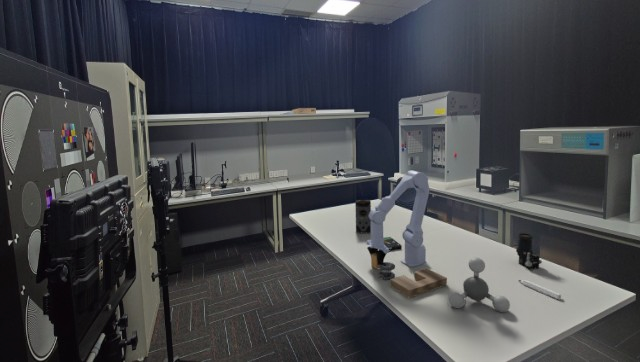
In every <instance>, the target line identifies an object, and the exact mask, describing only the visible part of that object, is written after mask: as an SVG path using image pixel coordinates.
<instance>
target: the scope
mask: <svg viewBox="0 0 640 362" xmlns="http://www.w3.org/2000/svg"><path fill="white" fill-rule="evenodd" d="M517 237H518V241H517V248H516V249H515V251H516V254H517V256H518V264H519V265H520V266H523V267H525V268H526V269H528V270H529V271H533V270H534V269H539V268H540V264H543V261H542V259H540V256H539V255H535V254H533V253H534V252H533V240H532V239H533V237H534V236H533V235H532V234H530V233H526V232H525V233H524V232H522V233H518V236H517Z"/></svg>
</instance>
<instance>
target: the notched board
mask: <svg viewBox="0 0 640 362" xmlns="http://www.w3.org/2000/svg"><path fill="white" fill-rule="evenodd" d="M414 279H415V280H417V281H415V280H413V279H412V278H409V277H408V276H406V275H404V274H403V275H401V276H397V277H396V276H395V278H393V279H391V280H390V287H391V288H392V289H394V290H396V291H398V292H399V293H400V294H402V295H404V296H406V297H408V299H410V298H413V297H416V296H419V295H421V294H424V293H427V292H430V291H434V290H436V289H438V288H441V287H442V288H443V287H445V286H447V285H448V283H447V282H448V281H447V280H448V278H447V277H445V276H444V275H442V274H440V273H438V272H435V271H433V270H431V269H429V268H423V269H420V270H416V271H414Z"/></svg>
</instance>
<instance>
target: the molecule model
mask: <svg viewBox="0 0 640 362" xmlns="http://www.w3.org/2000/svg"><path fill="white" fill-rule="evenodd" d="M468 268H469V270H470V271H472V272H473V276H469V277H468V278H465V280H463V283H462V287H463V292H462V293H459V292H455V291H454V292H451V293H450V294H449V295H448V298H447V301H448V303H449V305H450V307H452V308H455V309H461V308H462V307H464V304H465V299H466V298H467V297H468V298H469V299H471V300H472V301H477V302H478V301H483V300H484V299H487V300H489V301H491V303H492V307H493V308H494V309H495V310H496V311H498V312H500V313H505V312H508V311H509V309H510V307H511V302H510V300H509V299H508V298H507V297H506V296H503V295H496V296H493V295H492V294H490V293H489V291H490V289H489V285H488V283H487V282H486V280H484V279H483V278H481V277H480V273H482V272H483V271H484V270H485V268H486V264H485V261H484V260H483V259H481V258H480V257H472V258H470V259H469V261H468Z"/></svg>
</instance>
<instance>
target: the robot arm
mask: <svg viewBox="0 0 640 362" xmlns="http://www.w3.org/2000/svg"><path fill="white" fill-rule="evenodd" d="M412 188H414V190H415V191H416V194H415V198H414V203H413V207H412V211H411V215H410V220H409V223H408V224H407V225H406V226H405V229H404V231H402V236H401V237H402V239H403V240H404V259H401V260H400V262H401V263H403V264H405V265H407V266H409V267H411V268H413V267H417V266H420V265H424V264H427V263H428V261H426V259H427V258H426V252H427V251H426V250H427V249H426V246H425V245H424V244H423V243H424V231H423V228H422V225H423V221H424V220H423V219H424V215H425V212H426V208H427V207H426V206H427V203H428V198H429V195H430V191H431V190H430V189H431V188H430V185H429V177H428V176H427V175H426V173H424V172H423V171H421V172H420V171H417V170H413V169H411V170H408V171H407V172H406V173H405V174H404V175H403V176H402V178H401V180H400V182H398V184H397V185H396V187H394V189H393V190H392V191H391V193H390V194H389V195H387V196H384V197H382V198H381V201H380V202H379V203H378V204H377V206H375V207H374V208H373V209H371V211H370V213H369V215H368V216H369V218H370V220H371V233H370V239H366V241H365V242H366V243H365V244H366V245H367V246H368V247H367V251H368V252H369V255H370V256H371V254H373V253H376V255H377V260H378V265H379V264H380V263H383V261H384V260H385V259H386V255H387V254H389V253H390V251H389V248H387V247H386V246H385V245H384V244H383V238H384V222H385V221H386V217H387V215H388V214H389V213H390V212H391V210H392V209H393V208H394V207H395V205H396V200H397V199H399V198H400V196H401V195H403V193H405V191H407V190H408V189H412Z"/></svg>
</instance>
